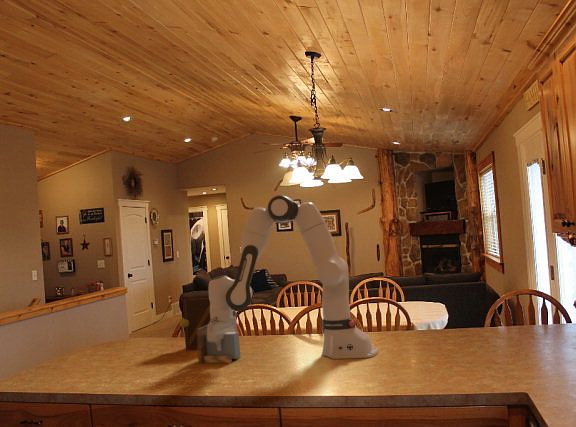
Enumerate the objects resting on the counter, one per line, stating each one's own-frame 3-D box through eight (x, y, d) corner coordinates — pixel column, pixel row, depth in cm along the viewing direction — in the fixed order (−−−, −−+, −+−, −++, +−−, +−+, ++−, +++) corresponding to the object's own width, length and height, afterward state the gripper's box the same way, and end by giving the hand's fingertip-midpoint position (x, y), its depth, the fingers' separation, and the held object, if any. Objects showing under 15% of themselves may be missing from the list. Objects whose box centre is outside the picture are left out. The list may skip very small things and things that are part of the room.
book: (230, 344, 250) (226, 291, 250) (226, 348, 241) (222, 293, 242) (184, 347, 252) (181, 294, 252) (179, 351, 243) (175, 296, 244)
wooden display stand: (242, 355, 225) (239, 322, 226) (228, 363, 213) (226, 328, 214) (213, 355, 230) (211, 322, 230) (198, 363, 218) (196, 329, 218)
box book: (240, 356, 221) (238, 331, 221) (235, 358, 217) (233, 334, 217) (212, 355, 225) (210, 331, 226) (207, 358, 221) (205, 334, 221)
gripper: (216, 319, 211) (218, 354, 210) (238, 310, 230) (240, 343, 230) (201, 320, 213) (204, 354, 212) (224, 311, 232) (227, 343, 232)
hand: (223, 348), depth 221 cm, fingers closed on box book, 4 cm apart
